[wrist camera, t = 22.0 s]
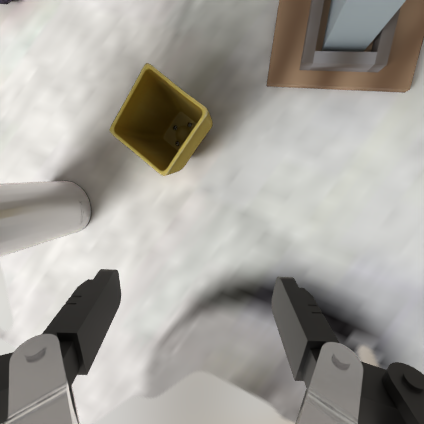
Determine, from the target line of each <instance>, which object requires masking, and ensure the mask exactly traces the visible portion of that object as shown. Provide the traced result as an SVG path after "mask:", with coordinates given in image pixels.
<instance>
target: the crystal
mask: <svg viewBox="0 0 424 424" xmlns="http://www.w3.org/2000/svg"><path fill="white" fill-rule="evenodd" d="M11 1H12V0H0V4H8V3H10V2H11Z"/></svg>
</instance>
